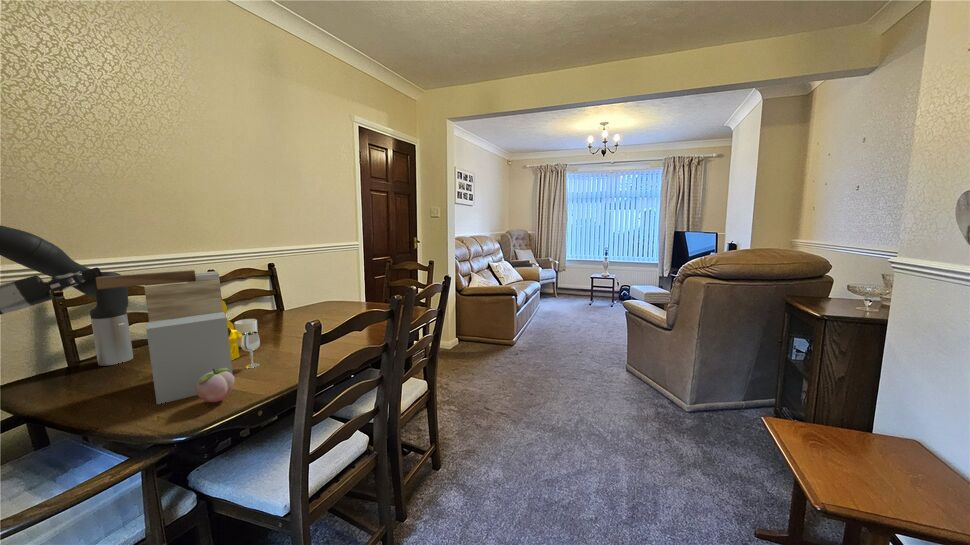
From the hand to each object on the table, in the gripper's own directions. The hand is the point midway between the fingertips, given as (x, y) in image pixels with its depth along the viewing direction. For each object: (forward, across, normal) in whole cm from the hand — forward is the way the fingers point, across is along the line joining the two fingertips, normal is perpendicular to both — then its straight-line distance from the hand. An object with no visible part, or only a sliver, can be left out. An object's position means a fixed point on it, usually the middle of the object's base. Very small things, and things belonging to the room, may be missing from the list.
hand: (100, 270), depth 111 cm
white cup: (+27, +14, +46) cm, 55 cm away
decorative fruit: (+6, -36, +42) cm, 55 cm away
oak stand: (+6, -9, +40) cm, 42 cm away
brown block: (+11, -10, +8) cm, 17 cm away
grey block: (+4, -22, +40) cm, 46 cm away
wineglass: (+21, -14, +45) cm, 52 cm away
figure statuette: (+17, +1, +44) cm, 47 cm away
